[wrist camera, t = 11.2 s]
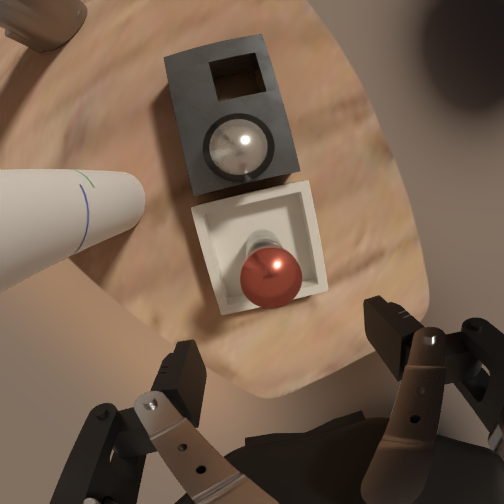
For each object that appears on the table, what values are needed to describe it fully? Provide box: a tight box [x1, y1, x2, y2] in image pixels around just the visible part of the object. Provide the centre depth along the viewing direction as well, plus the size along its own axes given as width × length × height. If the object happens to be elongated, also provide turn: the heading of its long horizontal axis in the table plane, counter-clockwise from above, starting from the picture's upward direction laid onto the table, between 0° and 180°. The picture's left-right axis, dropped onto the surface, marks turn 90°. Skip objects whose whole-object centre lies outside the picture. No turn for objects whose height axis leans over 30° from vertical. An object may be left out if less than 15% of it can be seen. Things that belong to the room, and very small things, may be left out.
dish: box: [191, 180, 329, 315], centre depth 30 cm, size 12×12×3 cm
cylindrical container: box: [0, 169, 146, 293], centre depth 17 cm, size 7×7×25 cm
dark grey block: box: [164, 34, 300, 196], centre depth 24 cm, size 10×15×8 cm, turn 13°
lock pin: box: [240, 229, 302, 308], centre depth 25 cm, size 4×4×11 cm
